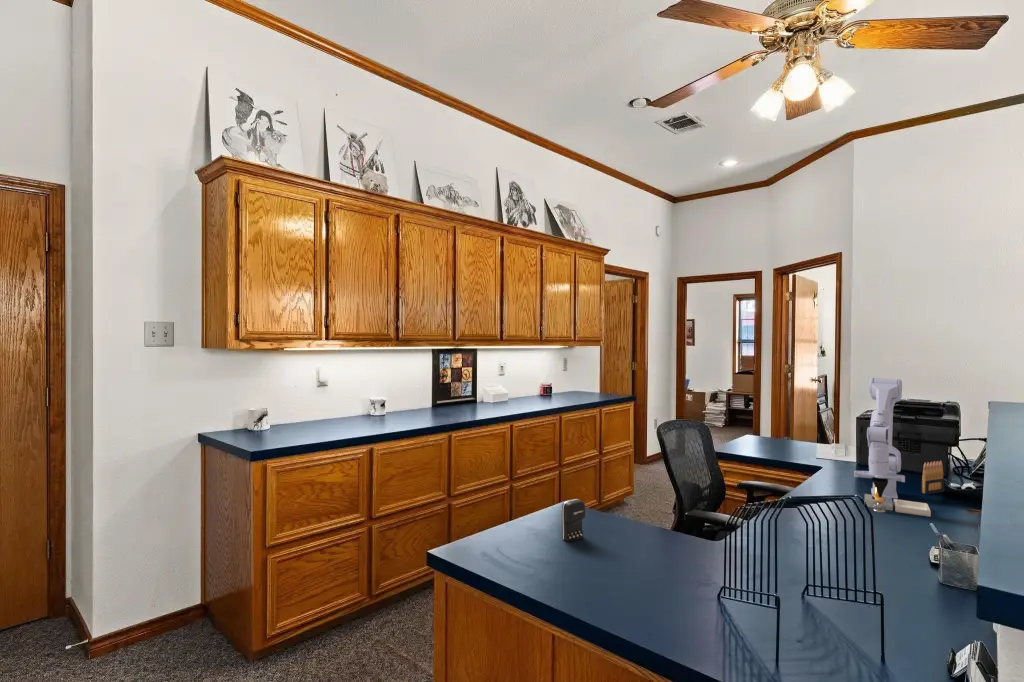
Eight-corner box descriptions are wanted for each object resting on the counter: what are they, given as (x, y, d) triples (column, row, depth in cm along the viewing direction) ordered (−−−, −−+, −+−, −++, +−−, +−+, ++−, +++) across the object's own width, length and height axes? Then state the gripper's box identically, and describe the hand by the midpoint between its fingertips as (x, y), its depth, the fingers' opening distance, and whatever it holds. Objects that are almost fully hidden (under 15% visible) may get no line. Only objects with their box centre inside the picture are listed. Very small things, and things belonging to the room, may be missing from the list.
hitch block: (864, 500, 198) (864, 491, 197) (891, 504, 193) (891, 495, 193) (865, 510, 187) (865, 501, 187) (893, 514, 182) (893, 505, 182)
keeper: (884, 502, 184) (884, 499, 184) (875, 501, 185) (875, 498, 185) (879, 497, 191) (879, 493, 191) (870, 496, 192) (870, 492, 191)
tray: (893, 504, 194) (893, 499, 194) (927, 508, 189) (927, 503, 188) (895, 511, 185) (895, 506, 185) (930, 516, 180) (930, 511, 180)
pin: (874, 504, 194) (874, 486, 194) (882, 505, 192) (882, 487, 192) (874, 505, 192) (874, 487, 191) (882, 507, 190) (882, 488, 190)
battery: (569, 543, 158) (569, 504, 158) (561, 539, 161) (561, 501, 161) (587, 538, 162) (587, 500, 161) (579, 534, 165) (579, 497, 165)
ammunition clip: (925, 494, 205) (926, 463, 205) (920, 493, 207) (921, 461, 207) (944, 491, 209) (944, 460, 208) (939, 490, 210) (939, 459, 210)
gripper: (854, 461, 188) (854, 499, 188) (905, 465, 181) (906, 506, 181) (853, 456, 194) (854, 494, 195) (903, 461, 187) (903, 500, 187)
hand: (879, 499), depth 188 cm, fingers closed, pressing on keeper
